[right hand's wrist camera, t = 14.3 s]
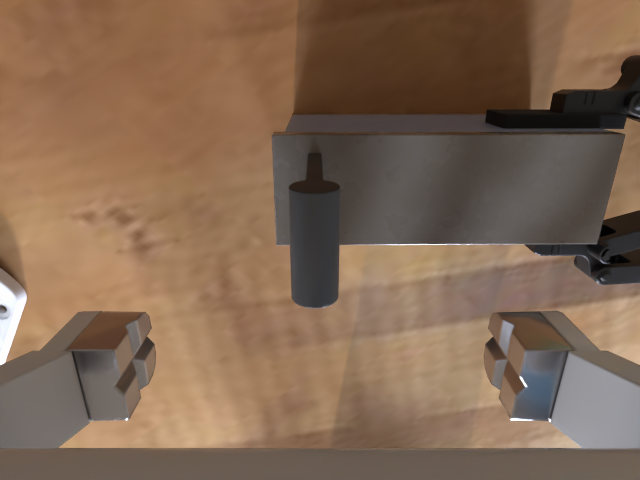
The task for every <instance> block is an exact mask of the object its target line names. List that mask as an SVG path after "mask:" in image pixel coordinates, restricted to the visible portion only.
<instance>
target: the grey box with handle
mask: <svg viewBox="0 0 640 480" xmlns="http://www.w3.org/2000/svg"><path fill="white" fill-rule="evenodd" d="M624 138H625V134H622V133H617V132H613V131H546V132H274V133H273V135H272V151H273V176H274V200H275V224H276V244H277V245H290V256H291V292H292V299H293V301H294V302H295V303H296V304H298V305H300V306H303V307H307V308H322V307H327V306H330V305H332V304H333V303H335V302H336V301H337V299H338V284H339V245H461V244H597V242H598V238H599V234H600V231H601V227H602V223H603V219H604V215H605V211H606V207H607V204H608V200H609V196H610V192H611V188H612V184H613V180H614V177H615V173H616V169H617V165H618V161H619V157H620V153H621V150H622V146H623V142H624Z"/></svg>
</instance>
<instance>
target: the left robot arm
mask: <svg viewBox="0 0 640 480" xmlns="http://www.w3.org/2000/svg"><path fill="white" fill-rule="evenodd" d="M621 73H622V75H621V77H620V79H619V80H618V82H617V83H616V84H615V85H614V86H612V87H611V88H609V89H603V90H566V89H563V90H560V91H557V92H555V93H553V96H552V101H551V107H550V110H487V113H486V120H485V123H488V124H491V125H494V126H497V127H500V128H503V129H557V128H599V129H624V126H625V122H626V118H630V119H632V120H635V121H638V122H640V55H635V56H630V57H628V58H627V59H626V60H625V61H624V62H623V64H622V66H621ZM524 245H526V246H527V247H528V248H529V249H530V250H531V251H533V252H534V253H536V254H539V255H541V256H550V255H551V256H557V255H558V256H576V257H575V259H574V264H575V266H576V267H577V268H579V269H580V270H581V271H582V272H584V273H585V274H586V275H588V276H589V277H590V278H592V279H593V280H594V281H596V282H597V283H598V284H601V285H609V284H627V283H640V210H639V211H635V212H632V213H628V214H624V215H621V216H617V217H614V218H610V219H606V220H603V223H602V227H601V231H600V234H599V238H598V242H597V244H524Z"/></svg>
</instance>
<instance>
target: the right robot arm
mask: <svg viewBox="0 0 640 480" xmlns="http://www.w3.org/2000/svg"><path fill="white" fill-rule="evenodd" d="M26 298H27V295H26V292H25V290H24V288H23V287H22V286H21V285H20V284H19V283H18V282H17V281H16V280H15V279H14V278H13V277H11V276H10V275H9V274H8V273H6V272H5V271H4V270H3V269H1V268H0V480H640V365H638V364H636V363H634V362H631V361H629V360H627V359H625V358H622V357H620V356H618V355H616V354H613V353H611V352H609V351H600V350H599V349H598V348H597V347H596V346H595V345H594V344H593V343H592V342H591V341H590V340H589V339H588V338H587V337H586V336H585V335H584V334H583V333H582V332H581V331H580V330H579V329H578V328H577V327H576V326H575V325H574V324H573V323H572V322H571V321H570V320H569V319H568V318H567V317H566V316H565V315H564V314H563V313H562V312H559V311H537V312H498V313H493V314H492V316H491V318H490V321H489V327H488V329H489V330H490V332H491V333H492V335H493V337H492V338H491V339H490V340H489V341H488V342H487V343H486V344H485V352H484V364H485V370H486V373H487V376H488V378H489V380H490V382H491V384H492V385H494V386H495V387H497V388H498V389H500V394H499V399H500V401H501V403H502V405H503V406H504V408H505V410H506V412H507V414H508V415H509V417H510V419H511V420H531V421H551V422H550V423H551V424H552V425H554V426H555V427H556V428H558V429H559V430H560V431H561V432H563V433H564V434H565V435H566V436H568V437H569V438H570V439H572V440H573V441H574V442H575V443H577V444H578V445H579V446H580V447H582V448H58V447H60V446H61V445H62V444H64V443H65V442H66V441H67V440H69V439H70V438H71V437H72V436H74V435H75V434H76V433H78V432H79V431H80V430H81V429H83V428H84V427H85V426H86V425H88V424H89V423H90V422H89V421H108V420H129V419H130V417H131V416H132V414H133V412H134V410H135V408H136V406H137V405H138V403H139V401H140V399H141V394H140V389H142V388H143V387H145V386H146V385H148V384H149V382H150V380H151V378H152V376H153V374H154V369H155V365H156V350H155V344H154V343H153V342H152V341H151V340H150V339H149V338H148V337H147V335H148V333H149V332H150V330H151V329H152V327H151V322H150V317H149V315H148V314H147V313H146V312H119V311H104V312H103V311H82V312H78V313H77V314H76V315H75V316H74V317H73V318H72V319H71V320H70V321H69V322H68V323H67V324H66V325H65V326H64V327H63V328H62V329H61V330H60V331H59V332H58V333H57V334H56V335H55V336H54V337H53V338H52V339H51V340H50V341H49V342H48V343H47V344H46V345H45V346H44V347H43V348H42V349H41V350H40V351H31V352H29V353H27V354H24V355H22V356H20V357H18V358H15V359H13V360H11V361H9V362H6V363H5V361H6V358H7V355H8V352H9V349H10V347H11V344H12V341H13V338H14V335H15V332H16V329H17V326H18V323H19V320H20V317H21V314H22V311H23V308H24V306H25V303H26ZM2 305H4V306H5V307H6V308H4V307H3V306H2Z"/></svg>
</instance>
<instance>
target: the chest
mask: <svg viewBox="0 0 640 480" xmlns="http://www.w3.org/2000/svg"><path fill="white" fill-rule="evenodd" d="M485 120H486V113H293V114H292V118H291V120H290V122H289V124H288V126H287V128H286V131H285V132H546V131H608V130H604V129H599V128H557V129H503V128H500V127H497V126H494V125H491V124H488V123H485Z"/></svg>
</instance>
